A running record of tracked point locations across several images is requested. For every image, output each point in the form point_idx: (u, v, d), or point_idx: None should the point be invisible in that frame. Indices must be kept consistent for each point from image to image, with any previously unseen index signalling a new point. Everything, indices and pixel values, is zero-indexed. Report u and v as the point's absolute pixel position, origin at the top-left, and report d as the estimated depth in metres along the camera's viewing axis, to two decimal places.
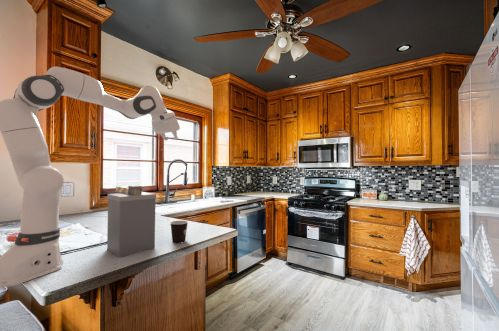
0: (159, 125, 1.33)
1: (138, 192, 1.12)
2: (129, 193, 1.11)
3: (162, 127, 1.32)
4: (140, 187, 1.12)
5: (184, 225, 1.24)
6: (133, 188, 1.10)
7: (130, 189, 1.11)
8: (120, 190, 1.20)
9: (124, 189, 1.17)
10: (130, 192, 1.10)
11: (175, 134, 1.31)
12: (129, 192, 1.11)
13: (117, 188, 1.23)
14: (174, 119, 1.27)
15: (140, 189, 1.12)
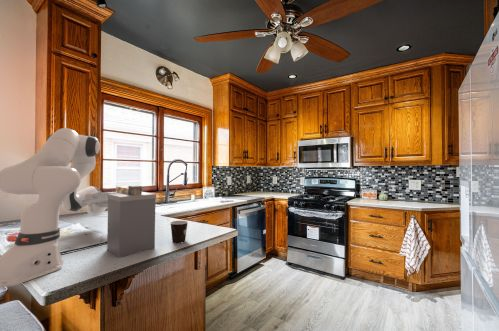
0: None
1: (138, 192, 1.12)
2: (129, 193, 1.11)
3: None
4: (140, 187, 1.12)
5: (184, 225, 1.24)
6: (133, 188, 1.10)
7: (130, 189, 1.11)
8: (120, 190, 1.20)
9: (124, 189, 1.17)
10: (130, 192, 1.10)
11: None
12: (129, 192, 1.11)
13: (117, 188, 1.23)
14: None
15: (140, 189, 1.12)
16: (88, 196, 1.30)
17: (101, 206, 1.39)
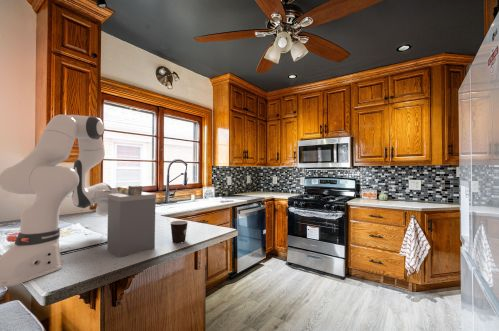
0: None
1: (138, 192, 1.12)
2: (129, 193, 1.11)
3: None
4: (140, 187, 1.12)
5: (184, 225, 1.24)
6: (133, 188, 1.10)
7: (130, 189, 1.11)
8: (120, 190, 1.20)
9: (124, 189, 1.17)
10: (131, 191, 1.10)
11: None
12: (129, 192, 1.11)
13: None
14: None
15: (140, 189, 1.12)
16: (98, 193, 1.18)
17: None
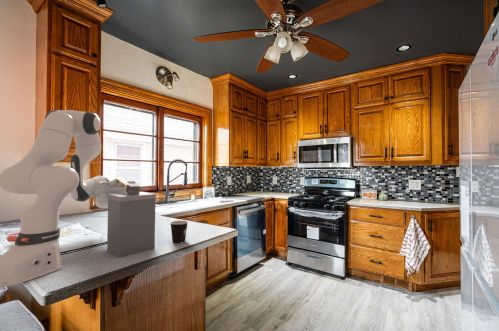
0: None
1: (136, 192, 1.13)
2: (127, 191, 1.13)
3: None
4: (138, 187, 1.14)
5: (184, 225, 1.24)
6: (131, 188, 1.11)
7: (128, 188, 1.12)
8: (119, 183, 1.22)
9: (122, 184, 1.19)
10: (128, 191, 1.12)
11: None
12: (127, 190, 1.13)
13: None
14: None
15: (138, 189, 1.14)
16: (97, 185, 1.20)
17: None
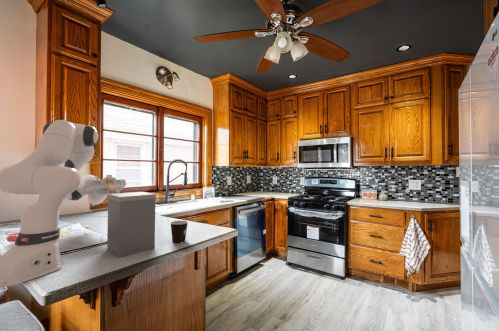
0: None
1: None
2: None
3: None
4: None
5: (184, 225, 1.24)
6: None
7: None
8: (107, 185, 1.32)
9: (110, 191, 1.30)
10: None
11: (115, 180, 1.37)
12: None
13: None
14: None
15: None
16: (89, 182, 1.29)
17: (102, 193, 1.38)
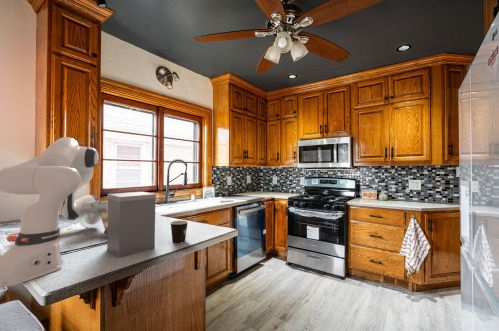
0: None
1: None
2: (104, 233, 1.31)
3: None
4: None
5: (184, 225, 1.24)
6: None
7: (105, 232, 1.30)
8: (101, 214, 1.38)
9: (103, 220, 1.35)
10: (105, 234, 1.30)
11: None
12: (104, 233, 1.31)
13: None
14: None
15: None
16: (86, 205, 1.31)
17: (98, 215, 1.40)
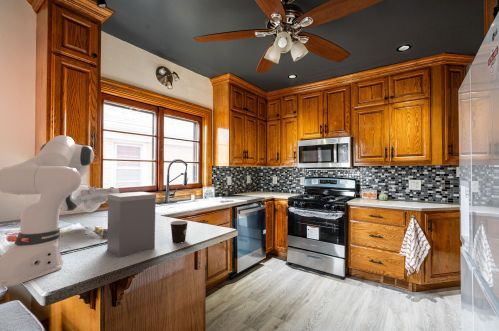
0: None
1: None
2: None
3: None
4: None
5: (184, 225, 1.24)
6: (107, 232, 1.31)
7: (104, 233, 1.31)
8: (97, 230, 1.41)
9: (100, 230, 1.38)
10: (104, 235, 1.31)
11: (113, 189, 1.45)
12: (103, 235, 1.32)
13: (95, 229, 1.43)
14: None
15: None
16: (83, 192, 1.35)
17: (96, 202, 1.44)
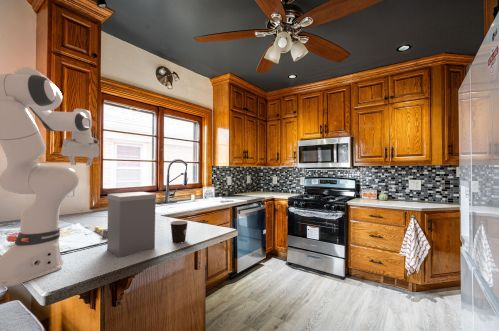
0: (79, 147, 1.28)
1: None
2: None
3: (84, 150, 1.30)
4: None
5: (184, 225, 1.24)
6: (107, 232, 1.31)
7: (104, 233, 1.31)
8: (97, 230, 1.41)
9: (100, 230, 1.38)
10: (104, 235, 1.31)
11: None
12: (103, 235, 1.32)
13: (95, 228, 1.43)
14: None
15: None
16: None
17: None
